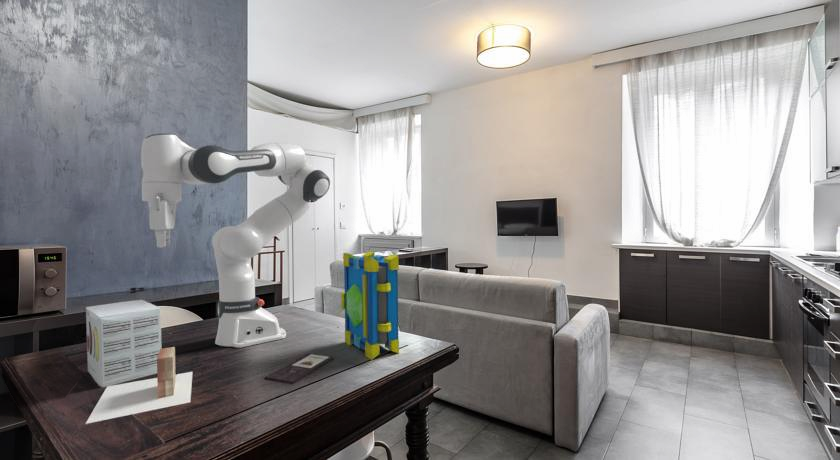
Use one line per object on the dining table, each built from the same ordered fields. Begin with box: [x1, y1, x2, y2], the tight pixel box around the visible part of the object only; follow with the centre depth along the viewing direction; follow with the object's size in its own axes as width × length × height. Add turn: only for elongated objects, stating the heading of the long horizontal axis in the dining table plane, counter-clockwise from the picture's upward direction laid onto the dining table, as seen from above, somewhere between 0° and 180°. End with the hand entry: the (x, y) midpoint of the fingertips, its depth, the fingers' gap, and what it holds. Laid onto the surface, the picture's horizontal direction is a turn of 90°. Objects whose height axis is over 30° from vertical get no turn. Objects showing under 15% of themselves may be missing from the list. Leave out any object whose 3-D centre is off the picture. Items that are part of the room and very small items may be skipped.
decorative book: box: [340, 250, 400, 361], centre depth 122 cm, size 14×23×30 cm, turn 33°
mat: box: [85, 371, 193, 425], centre depth 90 cm, size 18×20×1 cm
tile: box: [156, 346, 176, 398], centre depth 92 cm, size 3×8×9 cm, turn 29°
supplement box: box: [85, 299, 163, 388], centre depth 104 cm, size 17×13×18 cm
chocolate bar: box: [263, 353, 334, 385], centre depth 106 cm, size 9×1×18 cm
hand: (163, 246), depth 103 cm, fingers open, 8 cm apart
